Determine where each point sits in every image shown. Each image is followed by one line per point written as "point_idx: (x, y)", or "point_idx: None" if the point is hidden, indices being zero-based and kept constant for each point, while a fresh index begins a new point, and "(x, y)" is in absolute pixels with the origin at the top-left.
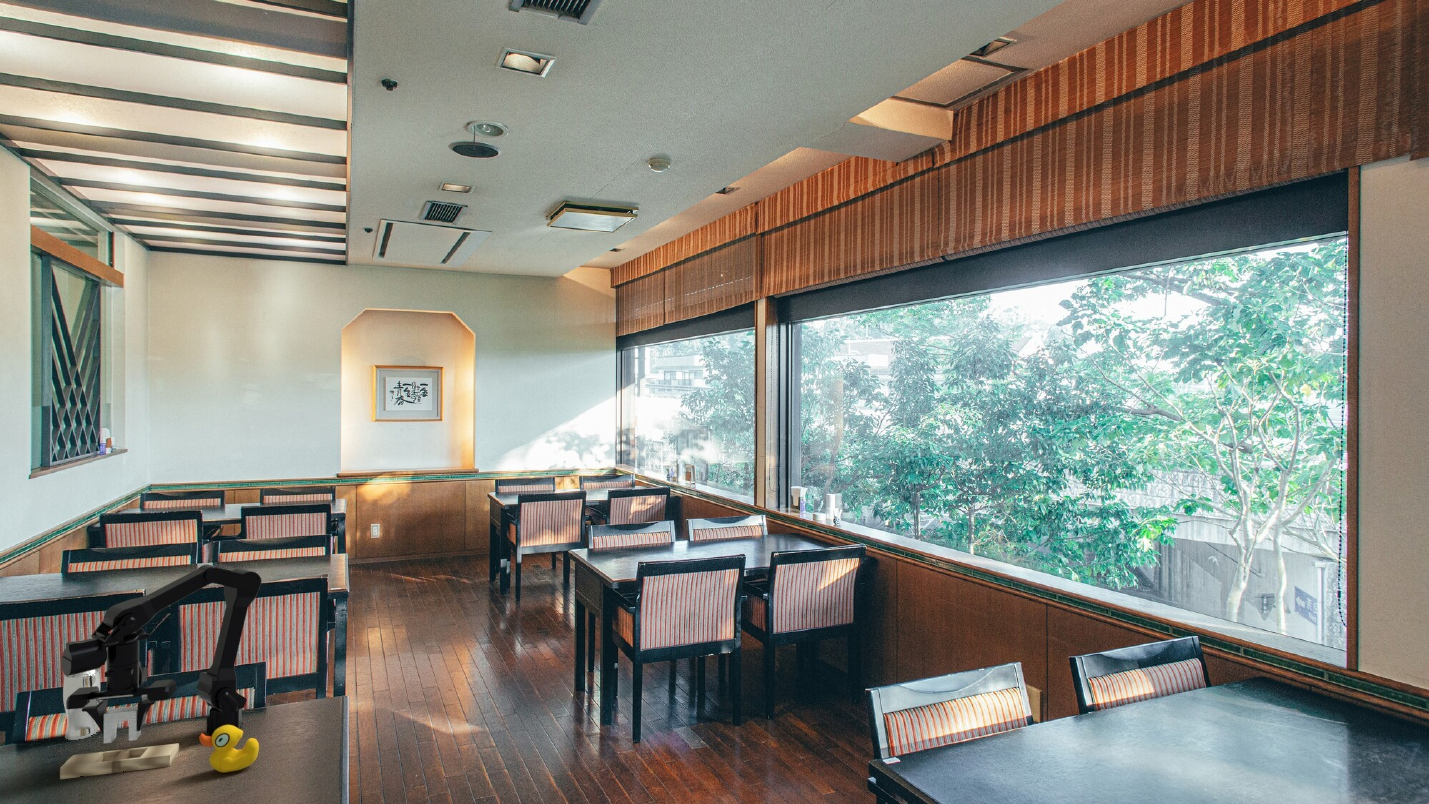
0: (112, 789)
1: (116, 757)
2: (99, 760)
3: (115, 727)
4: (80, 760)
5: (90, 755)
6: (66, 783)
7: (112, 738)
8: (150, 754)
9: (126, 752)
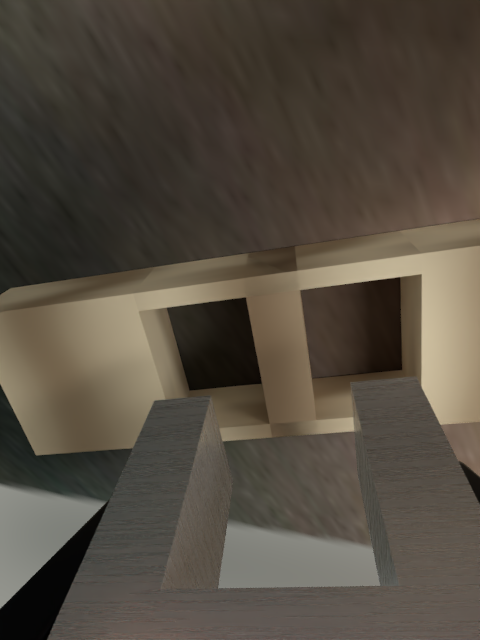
0: (357, 526)
1: (268, 389)
2: (161, 354)
3: (198, 499)
4: (75, 394)
5: (81, 336)
6: (124, 450)
7: (226, 487)
8: (476, 382)
9: (295, 328)
